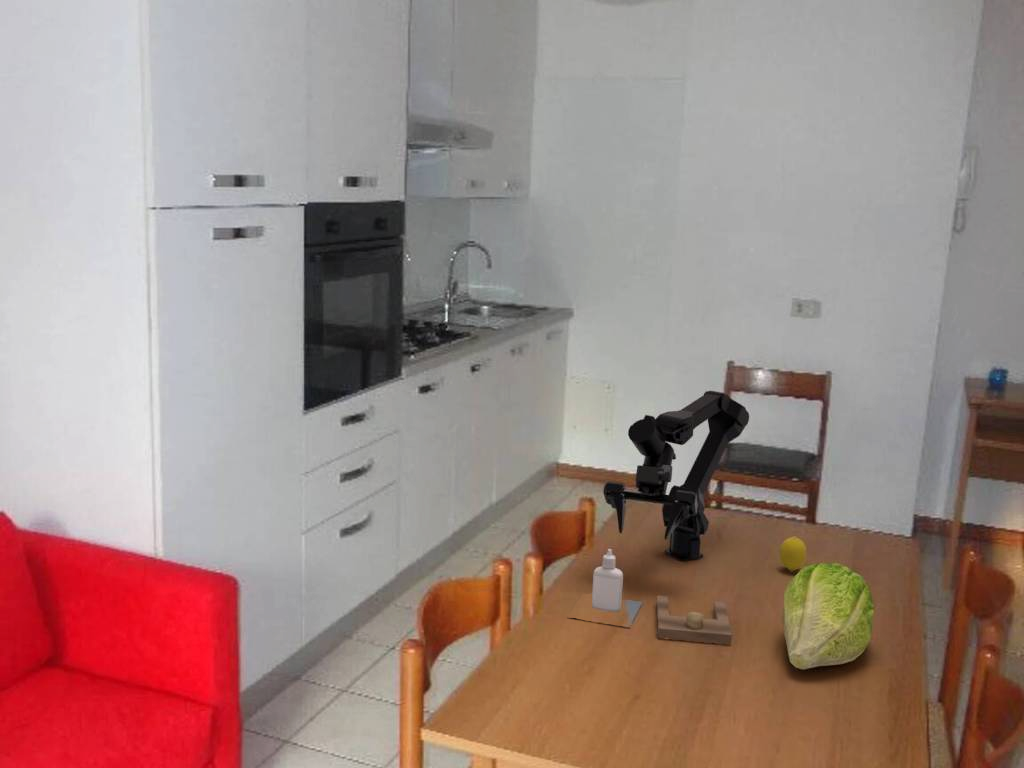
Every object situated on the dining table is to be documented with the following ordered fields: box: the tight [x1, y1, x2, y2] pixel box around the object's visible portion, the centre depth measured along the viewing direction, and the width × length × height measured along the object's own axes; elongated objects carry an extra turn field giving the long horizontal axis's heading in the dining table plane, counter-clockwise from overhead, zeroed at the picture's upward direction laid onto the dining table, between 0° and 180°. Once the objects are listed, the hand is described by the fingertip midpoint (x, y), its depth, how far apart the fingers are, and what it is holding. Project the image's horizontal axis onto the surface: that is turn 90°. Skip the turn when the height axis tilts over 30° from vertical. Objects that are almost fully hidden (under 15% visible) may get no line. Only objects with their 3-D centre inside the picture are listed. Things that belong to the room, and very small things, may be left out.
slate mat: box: [623, 599, 643, 627], centre depth 191 cm, size 12×12×1 cm
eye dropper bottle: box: [591, 548, 624, 612], centre depth 190 cm, size 4×6×12 cm
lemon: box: [779, 535, 807, 572], centre depth 214 cm, size 6×6×8 cm
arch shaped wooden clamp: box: [656, 595, 733, 646], centre depth 186 cm, size 15×13×4 cm
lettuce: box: [782, 562, 875, 670], centre depth 176 cm, size 15×25×16 cm
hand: (642, 535), depth 198 cm, fingers open, 9 cm apart
